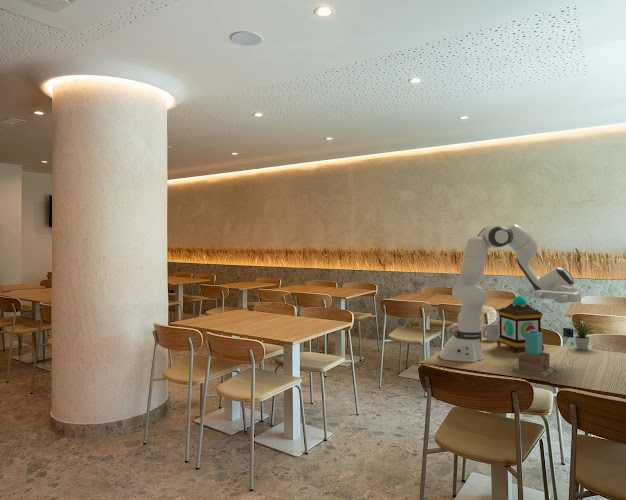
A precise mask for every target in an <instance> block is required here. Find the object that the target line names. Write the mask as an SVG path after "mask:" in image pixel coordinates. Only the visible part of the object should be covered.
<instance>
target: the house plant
mask: <svg viewBox="0 0 626 500" xmlns="http://www.w3.org/2000/svg"><path fill="white" fill-rule="evenodd" d="M579 322H580V323H576V322H575V321H573V323H571V325H572V326H573V327H574V328H571V330H572V331H573V335H574V334H577V335H575V336H574V339H575V345H576V349H578V350H588V349H589V343H590V339H591V338H590V337H588V336H591V335H590V334H596V331H593V330H594V329H595V330H596V329H599V328H598V327H596V328H595V327H593V325H592V324H593V322H591V323H589V320H587V321H586V322H585V323H583V321H582V319H580V321H579ZM588 323H589V324H588Z"/></svg>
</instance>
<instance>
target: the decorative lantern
mask: <svg viewBox="0 0 626 500" xmlns="http://www.w3.org/2000/svg"><path fill="white" fill-rule="evenodd" d="M497 313H498V316H499V338H498V340H497V342H496V344H497V347H501V344H503V345H505V346H509V347H511V348H513V349H514V352H515V354H519V353H518V352H519V349H525V332H528V331H530V330H538V332H542V327H541V325H542V323H541V321H542V319H541V318H543V315H544V314H543V313H542V312H541V311H539V310H538V309H535V308H533V307H532V306H530V305H529V304H527V300H526V299H525V298H524V297H523V296H521V295H517V296H515V297H514V298H513V299H512V303H509V305H507V306H505V307H501V308H499V309H498V310H497ZM544 350H545V346H544V343H543V342H542V352H544Z"/></svg>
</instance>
